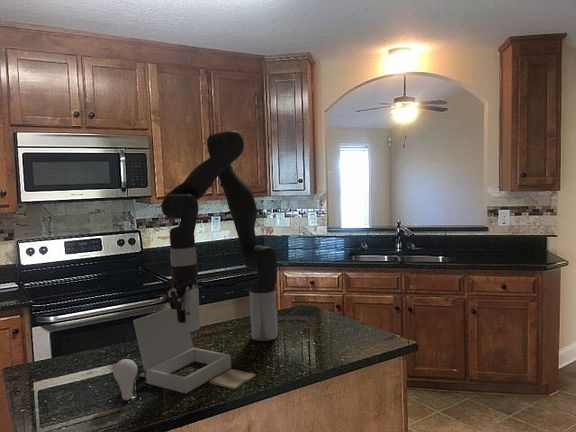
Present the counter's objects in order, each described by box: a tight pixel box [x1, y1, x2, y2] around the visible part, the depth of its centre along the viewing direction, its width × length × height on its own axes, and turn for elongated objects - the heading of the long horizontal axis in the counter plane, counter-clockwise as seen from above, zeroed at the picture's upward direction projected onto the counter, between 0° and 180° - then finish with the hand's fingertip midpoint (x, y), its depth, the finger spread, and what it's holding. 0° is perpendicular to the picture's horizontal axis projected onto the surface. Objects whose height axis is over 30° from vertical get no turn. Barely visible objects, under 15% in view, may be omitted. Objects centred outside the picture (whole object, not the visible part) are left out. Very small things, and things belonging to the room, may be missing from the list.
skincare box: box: [175, 288, 201, 333], centre depth 143 cm, size 6×4×12 cm
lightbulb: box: [112, 358, 138, 401], centre depth 129 cm, size 6×6×11 cm
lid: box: [132, 307, 194, 371], centre depth 149 cm, size 20×14×1 cm
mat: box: [208, 368, 256, 390], centre depth 140 cm, size 10×9×1 cm
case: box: [145, 347, 232, 394], centre depth 145 cm, size 20×15×4 cm
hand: (187, 319), depth 143 cm, fingers closed on skincare box, 4 cm apart
